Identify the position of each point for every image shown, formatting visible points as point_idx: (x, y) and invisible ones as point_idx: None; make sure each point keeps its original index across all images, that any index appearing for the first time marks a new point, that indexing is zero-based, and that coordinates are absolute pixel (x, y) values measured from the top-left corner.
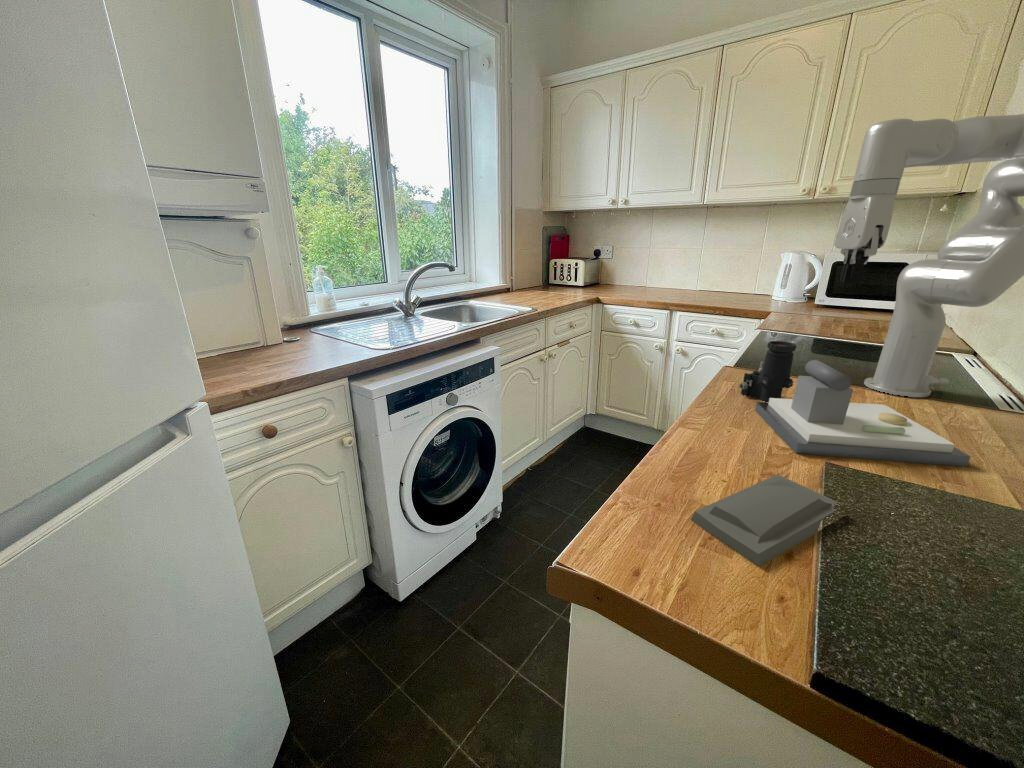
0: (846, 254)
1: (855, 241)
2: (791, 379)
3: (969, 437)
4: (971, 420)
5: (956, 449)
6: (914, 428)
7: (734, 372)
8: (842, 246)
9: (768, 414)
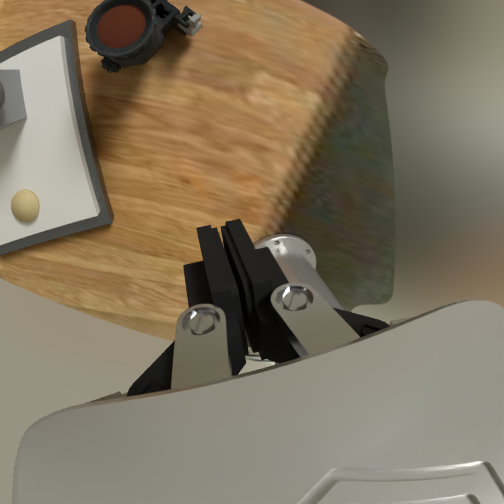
0: (322, 333)
1: (66, 472)
2: (108, 67)
3: (92, 286)
4: (162, 309)
5: (4, 251)
6: (13, 224)
7: (317, 22)
8: (334, 356)
9: (20, 41)
